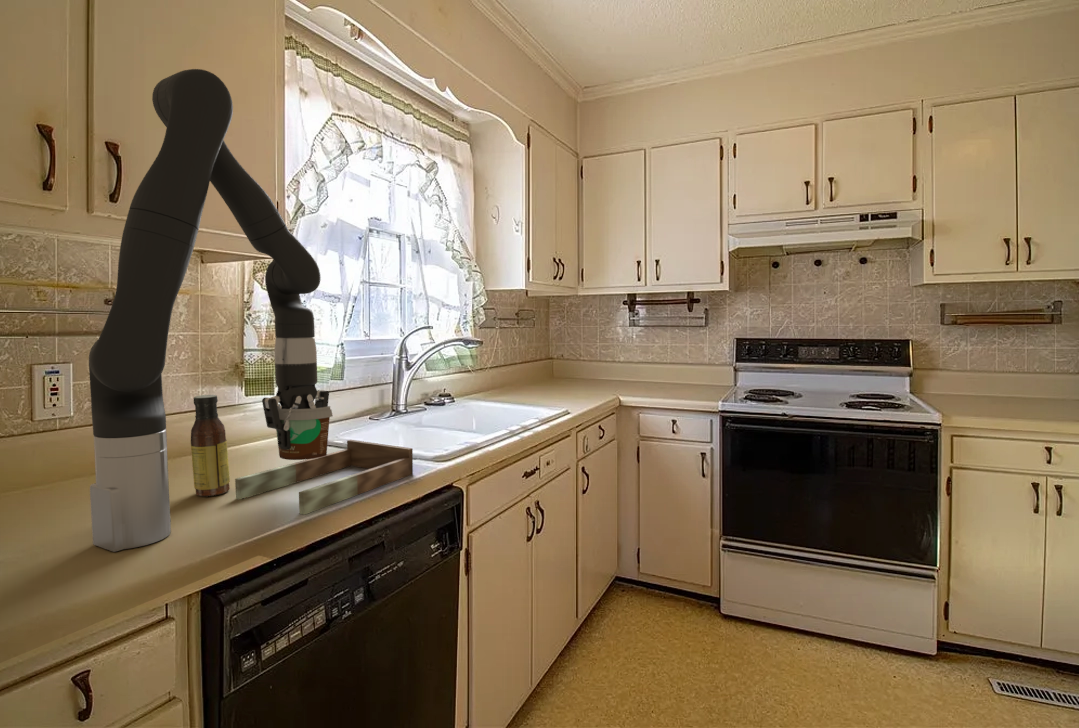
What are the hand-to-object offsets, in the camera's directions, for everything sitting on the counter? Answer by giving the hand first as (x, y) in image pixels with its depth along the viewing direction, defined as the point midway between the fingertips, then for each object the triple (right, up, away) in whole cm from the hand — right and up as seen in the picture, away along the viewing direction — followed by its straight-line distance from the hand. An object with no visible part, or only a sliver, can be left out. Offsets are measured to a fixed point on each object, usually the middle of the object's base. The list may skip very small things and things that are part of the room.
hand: (298, 445), depth 109 cm
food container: (0, -3, -1) cm, 3 cm away
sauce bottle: (-19, -10, +2) cm, 21 cm away
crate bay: (+3, -10, +8) cm, 13 cm away
